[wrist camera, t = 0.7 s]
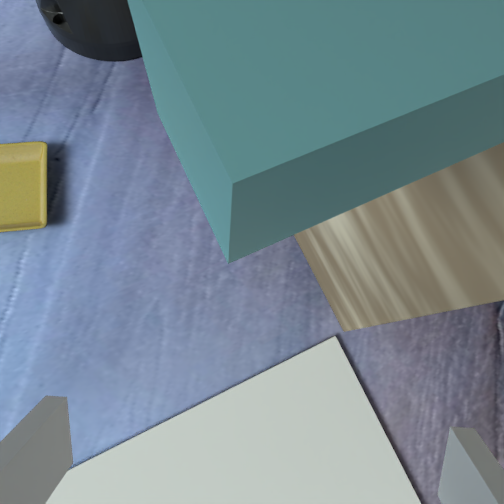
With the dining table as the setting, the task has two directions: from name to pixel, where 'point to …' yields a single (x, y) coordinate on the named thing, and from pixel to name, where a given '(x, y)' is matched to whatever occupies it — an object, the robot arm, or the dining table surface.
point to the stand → (415, 247)
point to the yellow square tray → (23, 186)
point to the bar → (318, 101)
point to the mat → (257, 446)
